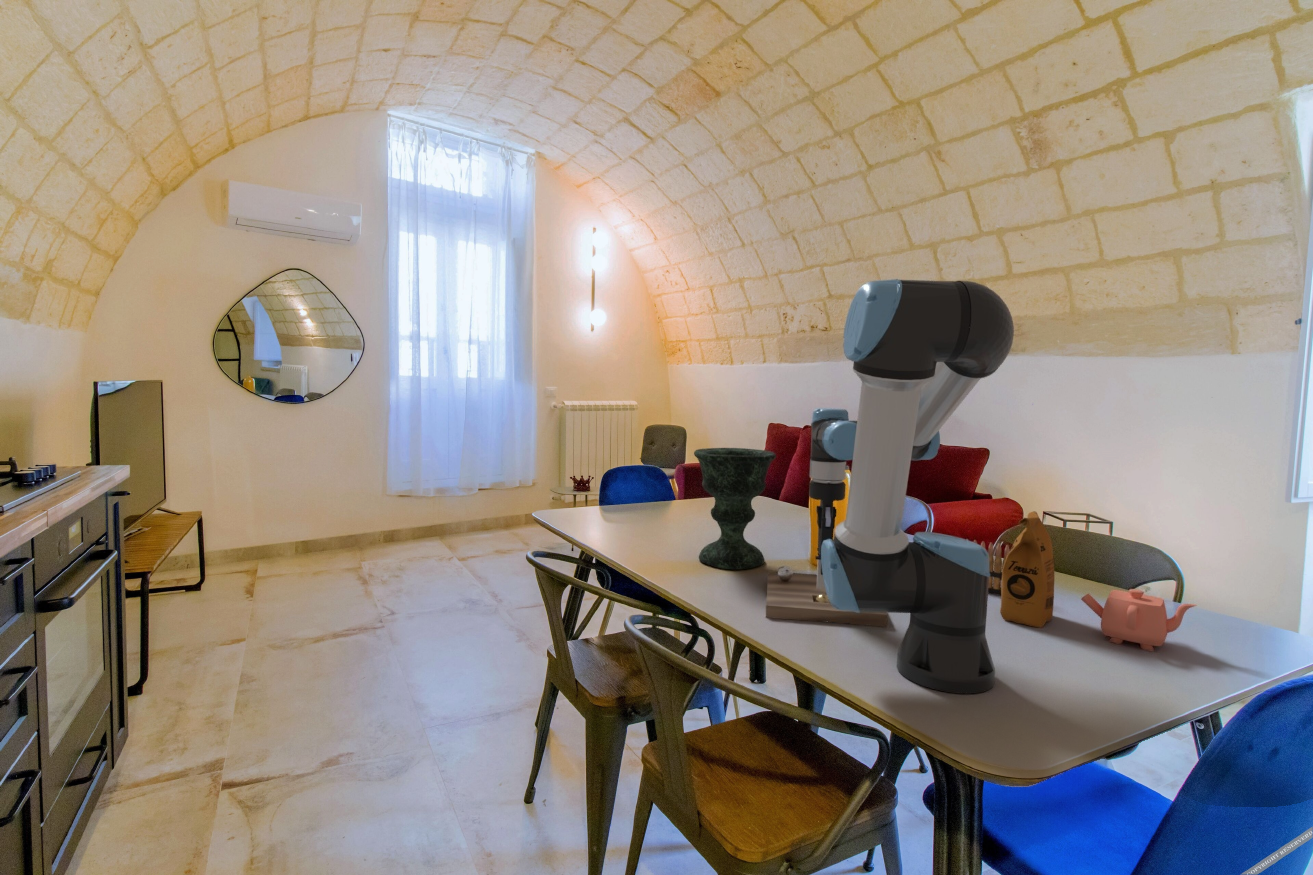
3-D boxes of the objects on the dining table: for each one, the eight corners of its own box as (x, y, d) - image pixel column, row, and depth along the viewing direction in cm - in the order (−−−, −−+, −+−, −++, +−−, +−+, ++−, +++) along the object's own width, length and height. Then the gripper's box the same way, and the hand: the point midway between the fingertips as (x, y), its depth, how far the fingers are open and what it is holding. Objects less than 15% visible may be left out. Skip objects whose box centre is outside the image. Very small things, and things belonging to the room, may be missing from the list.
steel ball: (792, 583, 154) (793, 568, 154) (777, 582, 155) (777, 567, 154) (792, 578, 157) (792, 564, 157) (777, 577, 158) (777, 563, 158)
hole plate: (886, 626, 134) (887, 614, 134) (765, 617, 138) (766, 605, 138) (869, 588, 160) (869, 578, 159) (767, 581, 164) (768, 571, 164)
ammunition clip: (1009, 594, 157) (1012, 544, 156) (1007, 596, 156) (1011, 545, 155) (961, 585, 164) (964, 537, 163) (959, 587, 162) (962, 538, 161)
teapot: (1115, 652, 123) (1119, 599, 122) (1076, 629, 135) (1079, 580, 134) (1193, 655, 123) (1198, 601, 122) (1147, 631, 135) (1151, 582, 134)
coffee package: (991, 618, 140) (997, 515, 139) (1007, 604, 150) (1013, 507, 148) (1044, 631, 134) (1052, 522, 132) (1058, 615, 143) (1065, 514, 141)
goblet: (681, 567, 175) (684, 453, 172) (701, 547, 196) (704, 446, 194) (766, 576, 168) (770, 457, 166) (777, 554, 190) (780, 449, 187)
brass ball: (831, 614, 143) (832, 604, 141) (814, 613, 143) (815, 603, 141) (830, 600, 145) (832, 591, 143) (814, 599, 146) (815, 589, 144)
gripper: (848, 485, 136) (843, 598, 138) (842, 477, 149) (838, 580, 151) (811, 483, 138) (806, 595, 139) (808, 475, 150) (804, 578, 152)
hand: (823, 587), depth 145 cm, fingers closed
